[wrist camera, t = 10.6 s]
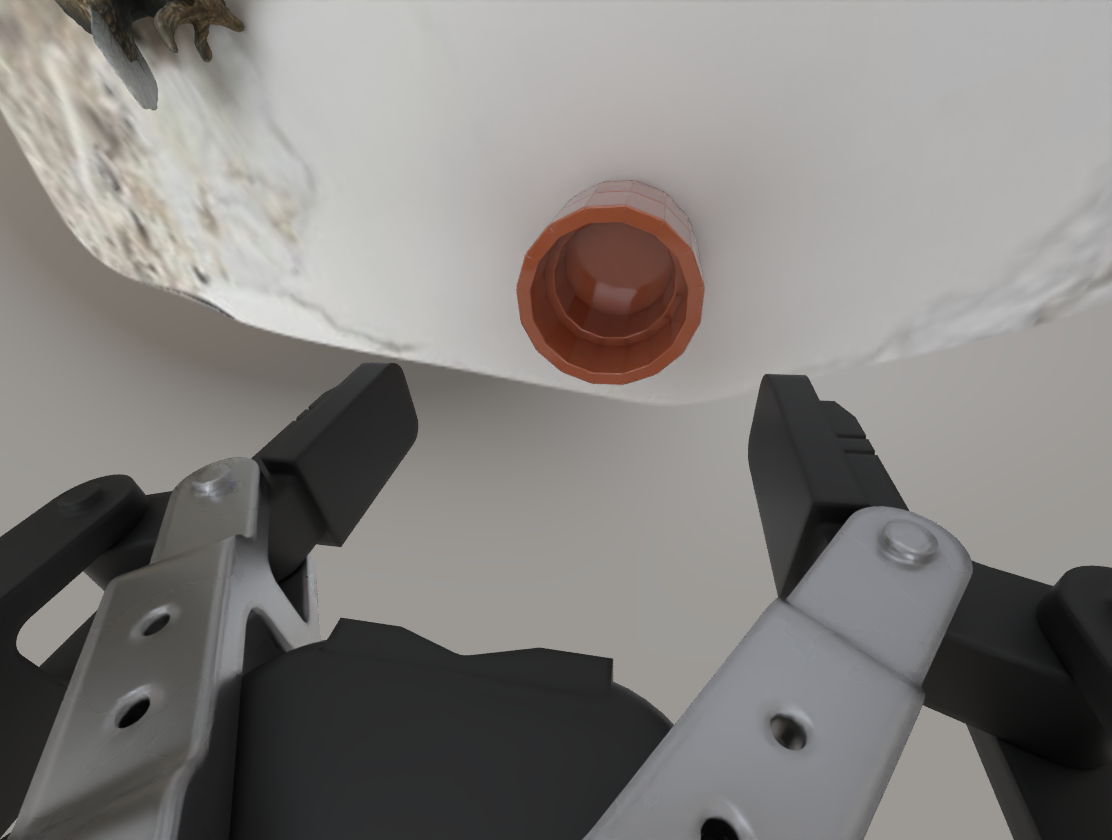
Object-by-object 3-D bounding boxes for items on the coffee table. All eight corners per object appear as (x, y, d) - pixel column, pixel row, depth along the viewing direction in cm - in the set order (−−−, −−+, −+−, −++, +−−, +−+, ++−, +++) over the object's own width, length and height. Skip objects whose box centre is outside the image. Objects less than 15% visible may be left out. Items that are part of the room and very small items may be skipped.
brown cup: (703, 173, 17) (714, 200, 13) (689, 329, 20) (693, 387, 17) (541, 183, 18) (505, 210, 14) (553, 328, 22) (528, 382, 18)
